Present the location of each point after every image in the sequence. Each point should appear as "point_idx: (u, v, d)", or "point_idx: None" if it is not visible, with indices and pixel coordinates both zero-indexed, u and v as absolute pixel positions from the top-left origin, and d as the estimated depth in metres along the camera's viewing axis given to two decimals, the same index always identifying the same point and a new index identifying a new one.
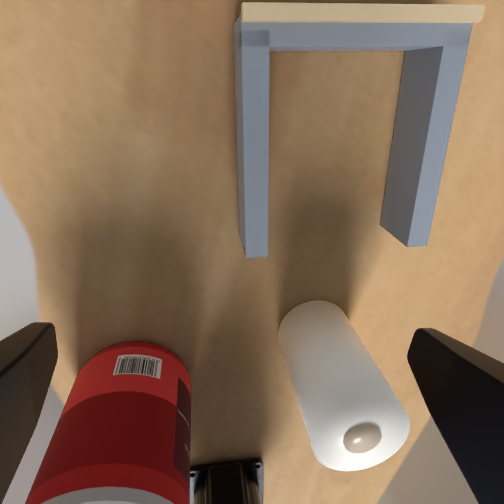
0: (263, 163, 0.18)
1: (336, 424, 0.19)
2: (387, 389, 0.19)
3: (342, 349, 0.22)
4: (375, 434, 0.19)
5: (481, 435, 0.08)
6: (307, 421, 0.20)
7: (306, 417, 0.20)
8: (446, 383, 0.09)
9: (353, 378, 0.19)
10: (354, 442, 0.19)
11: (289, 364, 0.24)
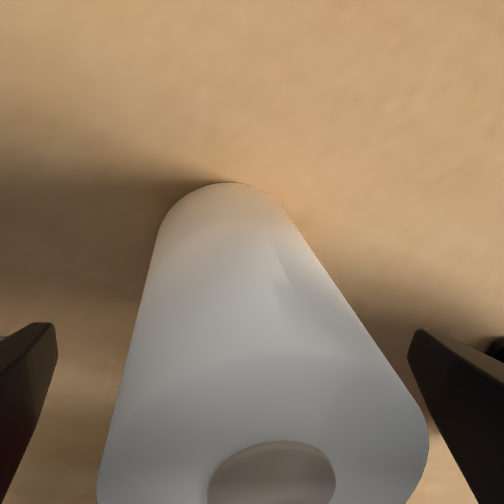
0: None
1: None
2: (141, 365, 0.06)
3: None
4: (259, 468, 0.05)
5: (481, 435, 0.08)
6: None
7: None
8: (446, 383, 0.09)
9: None
10: None
11: None
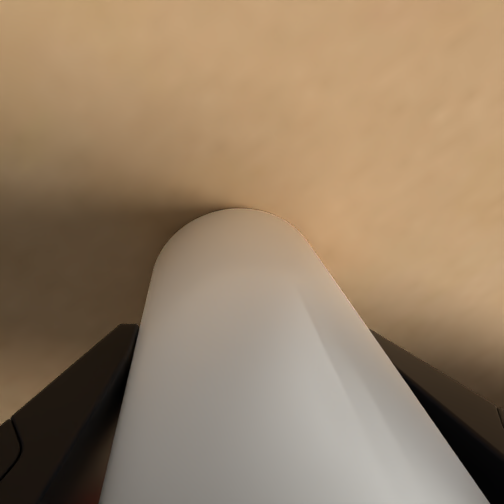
0: None
1: None
2: None
3: None
4: None
5: None
6: None
7: None
8: None
9: None
10: None
11: None
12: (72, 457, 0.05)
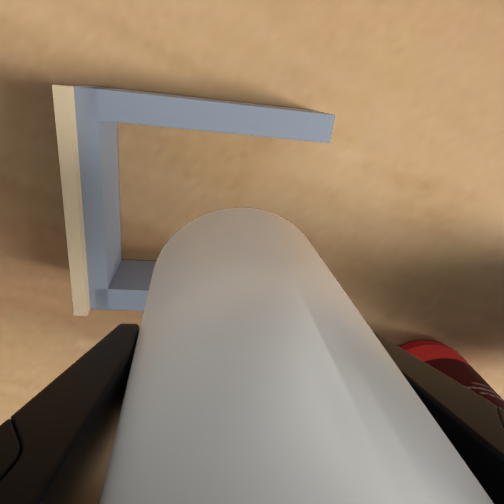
0: None
1: None
2: None
3: None
4: None
5: None
6: None
7: None
8: None
9: None
10: None
11: None
12: (72, 457, 0.05)
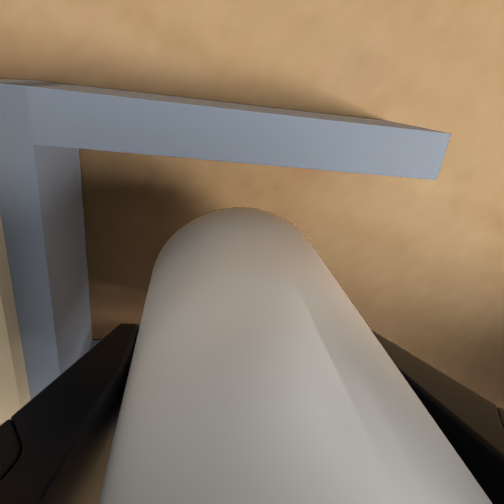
0: None
1: None
2: None
3: None
4: None
5: None
6: None
7: None
8: None
9: None
10: None
11: None
12: (72, 457, 0.05)
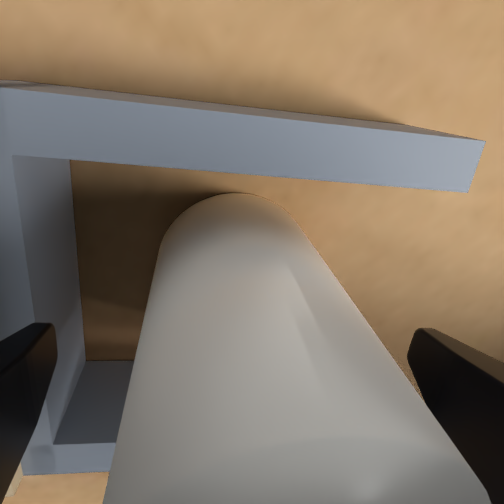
0: None
1: None
2: (140, 434, 0.05)
3: None
4: None
5: (481, 435, 0.08)
6: None
7: None
8: (446, 383, 0.09)
9: None
10: None
11: None
12: None
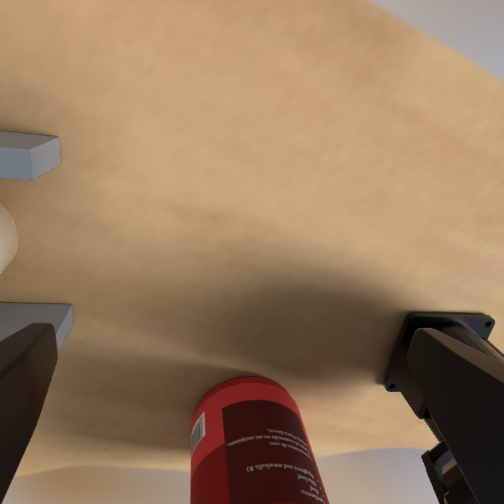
0: None
1: None
2: None
3: None
4: None
5: (481, 435, 0.08)
6: None
7: None
8: (446, 383, 0.09)
9: None
10: None
11: None
12: None
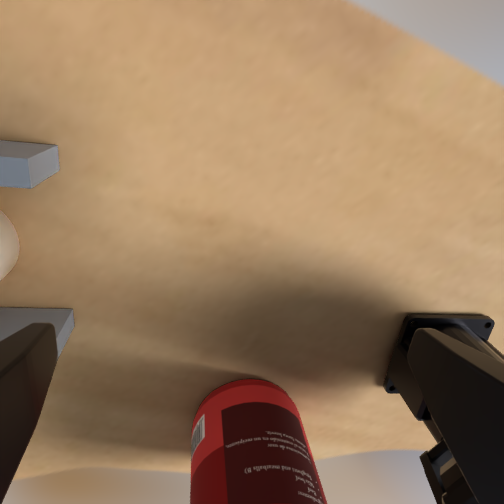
0: None
1: None
2: None
3: None
4: None
5: (481, 435, 0.08)
6: None
7: None
8: (446, 383, 0.09)
9: None
10: None
11: None
12: None
